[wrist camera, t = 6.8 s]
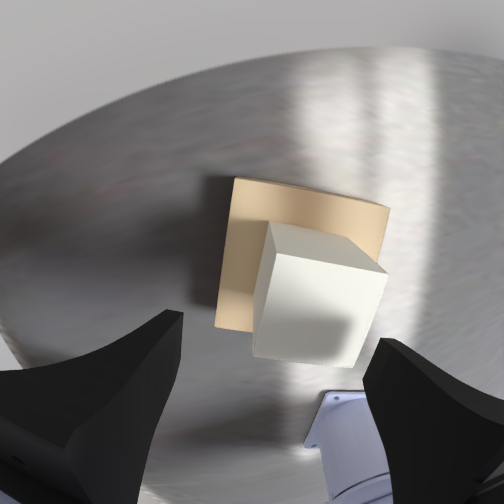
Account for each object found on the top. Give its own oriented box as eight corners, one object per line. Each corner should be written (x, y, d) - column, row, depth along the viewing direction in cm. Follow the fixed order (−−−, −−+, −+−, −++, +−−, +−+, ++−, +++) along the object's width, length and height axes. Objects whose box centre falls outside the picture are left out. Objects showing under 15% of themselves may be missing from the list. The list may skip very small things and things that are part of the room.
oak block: (372, 201, 19) (390, 208, 16) (340, 320, 22) (351, 342, 19) (237, 175, 19) (234, 178, 16) (219, 305, 21) (214, 326, 18)
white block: (346, 236, 17) (389, 274, 11) (326, 307, 18) (352, 367, 12) (269, 220, 16) (276, 253, 11) (253, 295, 18) (252, 356, 12)
